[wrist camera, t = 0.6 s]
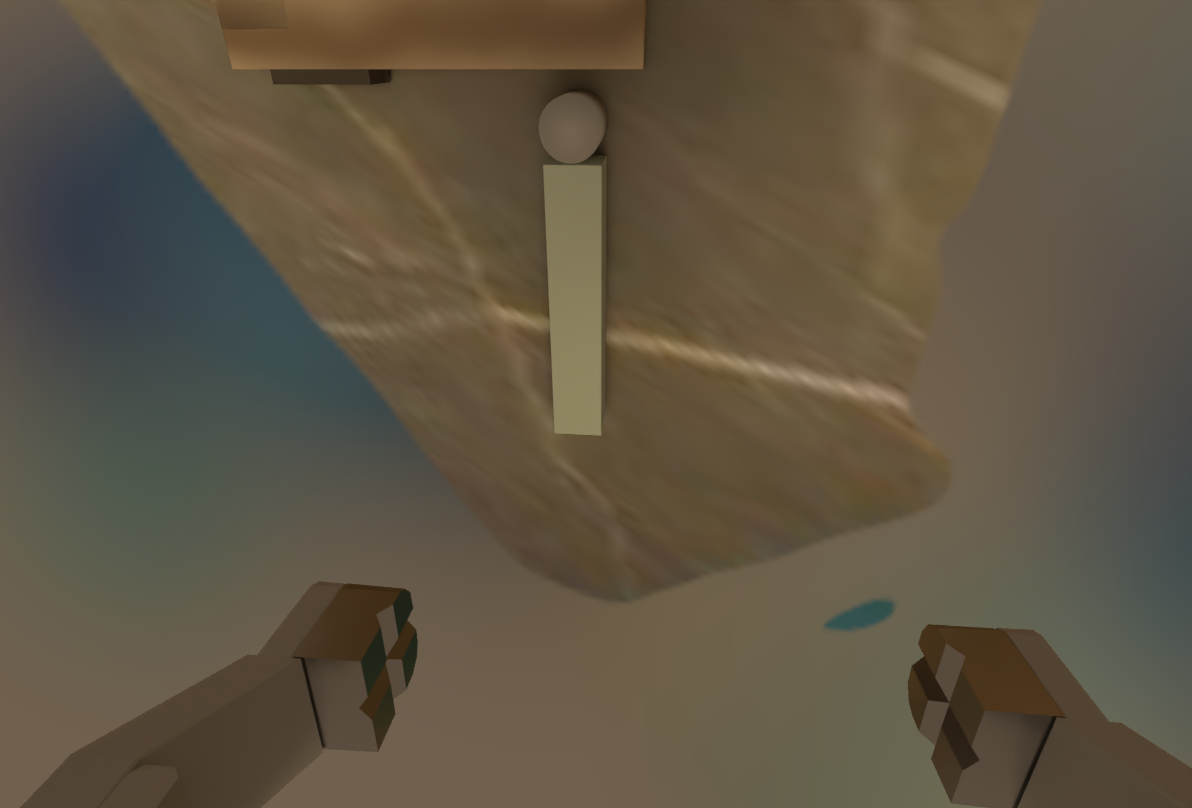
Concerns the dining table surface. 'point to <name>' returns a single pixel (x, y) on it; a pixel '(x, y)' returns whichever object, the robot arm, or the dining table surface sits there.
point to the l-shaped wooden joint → (428, 36)
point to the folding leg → (576, 257)
